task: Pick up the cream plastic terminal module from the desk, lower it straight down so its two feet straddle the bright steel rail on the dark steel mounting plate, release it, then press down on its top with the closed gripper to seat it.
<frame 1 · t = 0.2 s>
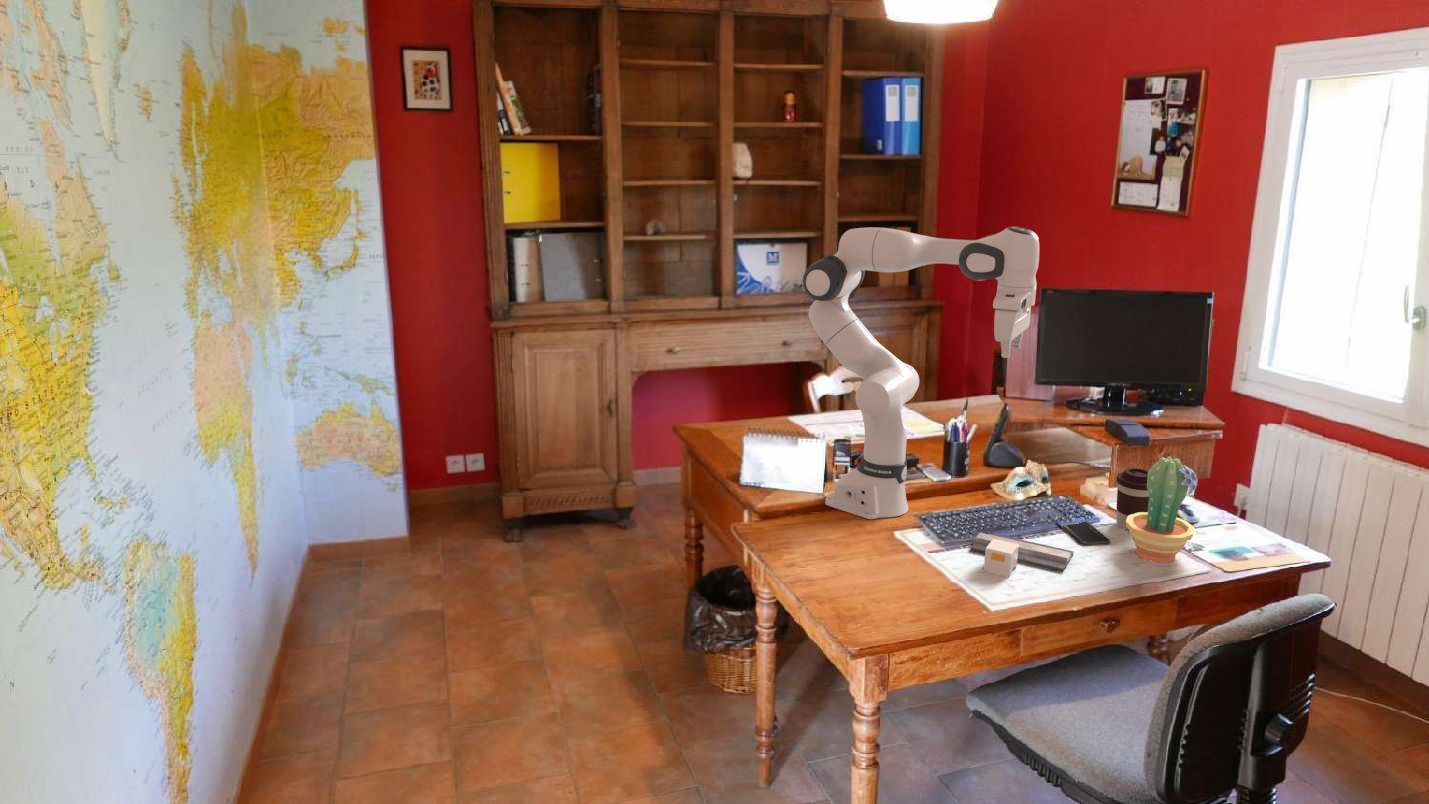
hand: (1010, 353, 235), 47 cm above the table, fingers open, 8 cm apart
phone: (1082, 534, 250), on the table
potted cactus: (1155, 555, 237), on the table
module: (1000, 569, 229), on the table
coffee cup: (1131, 526, 253), on the table
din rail: (1021, 553, 238), on the table
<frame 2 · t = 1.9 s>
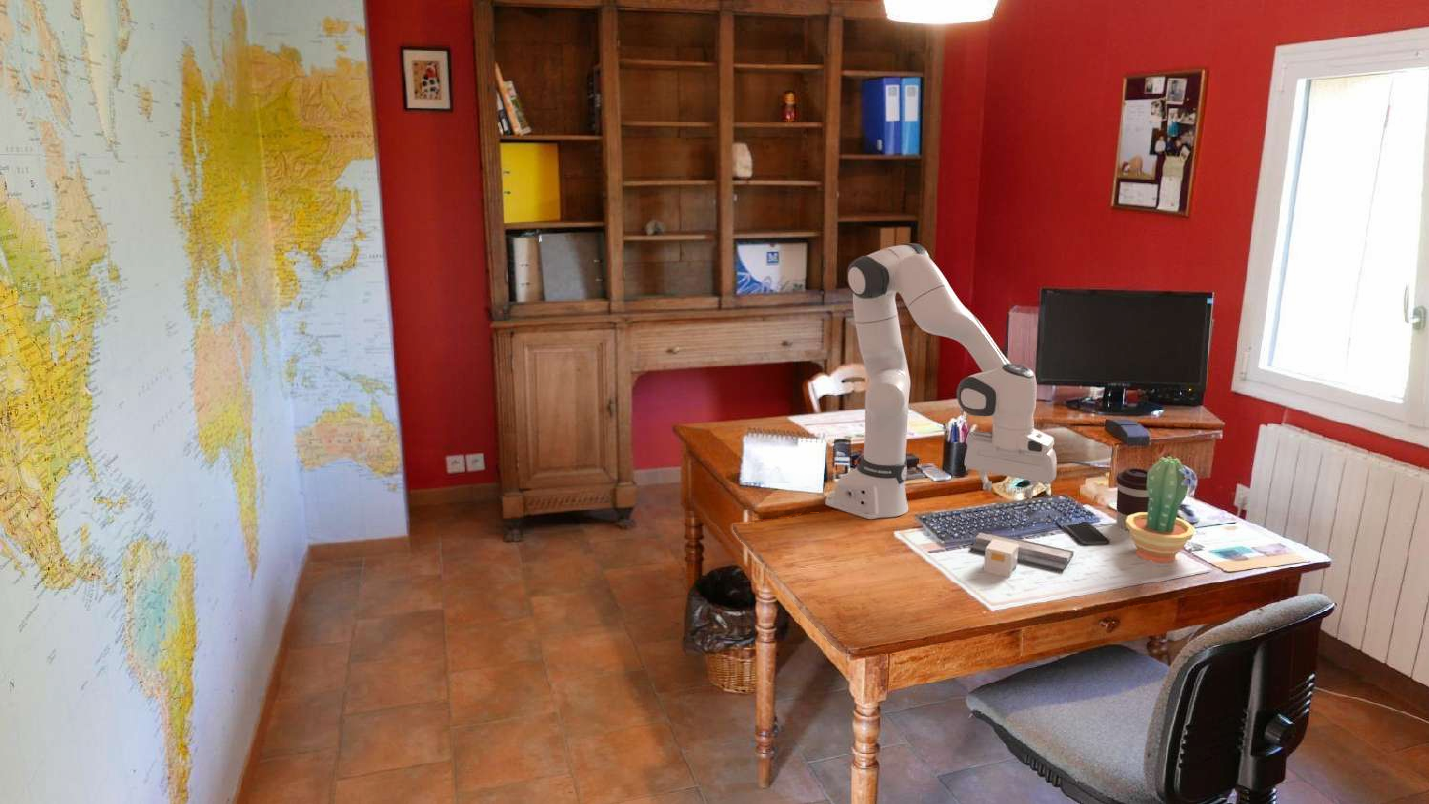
hand: (1007, 493, 224), 19 cm above the table, fingers open, 8 cm apart
nothing on the table moved.
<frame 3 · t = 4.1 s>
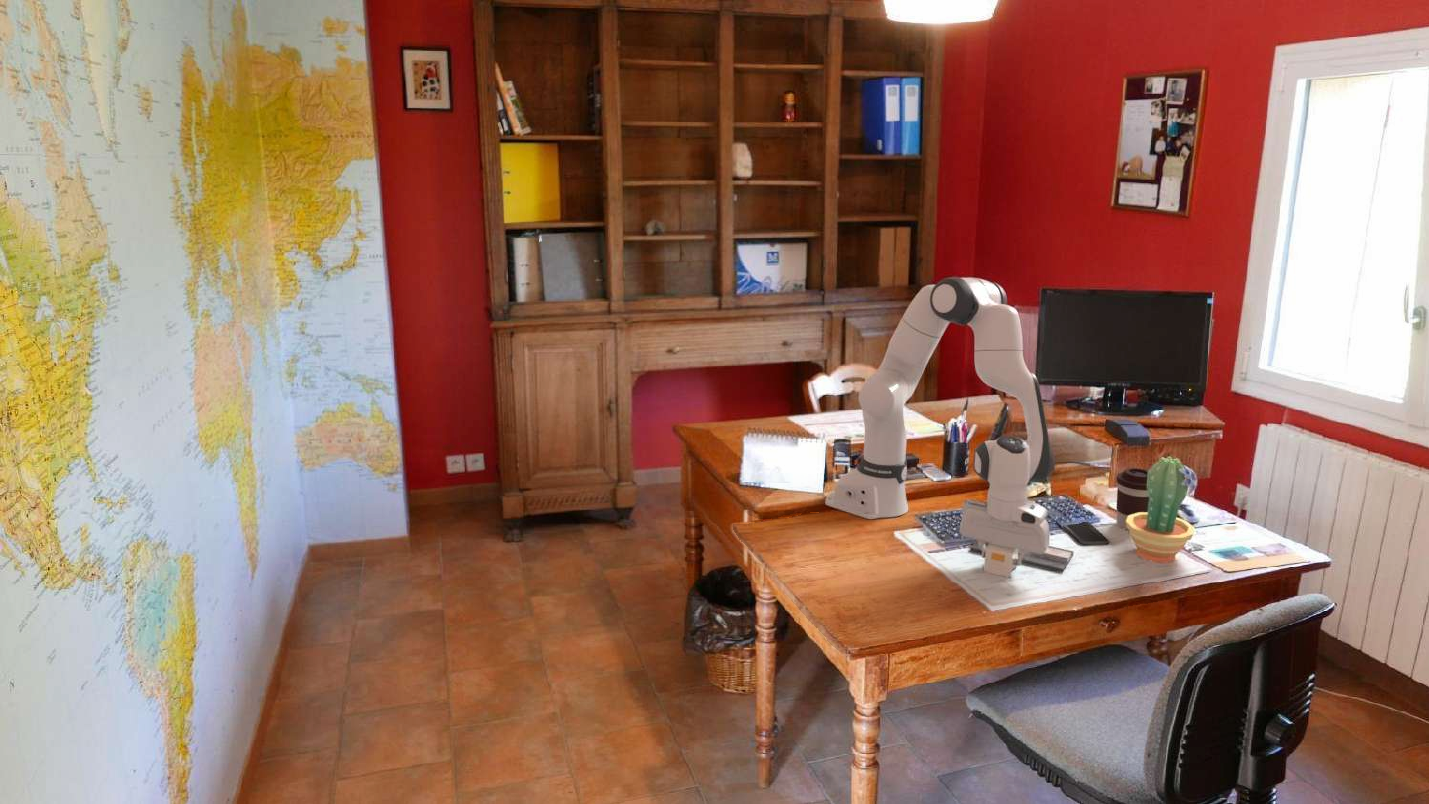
hand: (1001, 560, 229), 2 cm above the table, fingers closed on module, 6 cm apart
module: (1000, 569, 229), on the table, touching gripper
everything else where it was.
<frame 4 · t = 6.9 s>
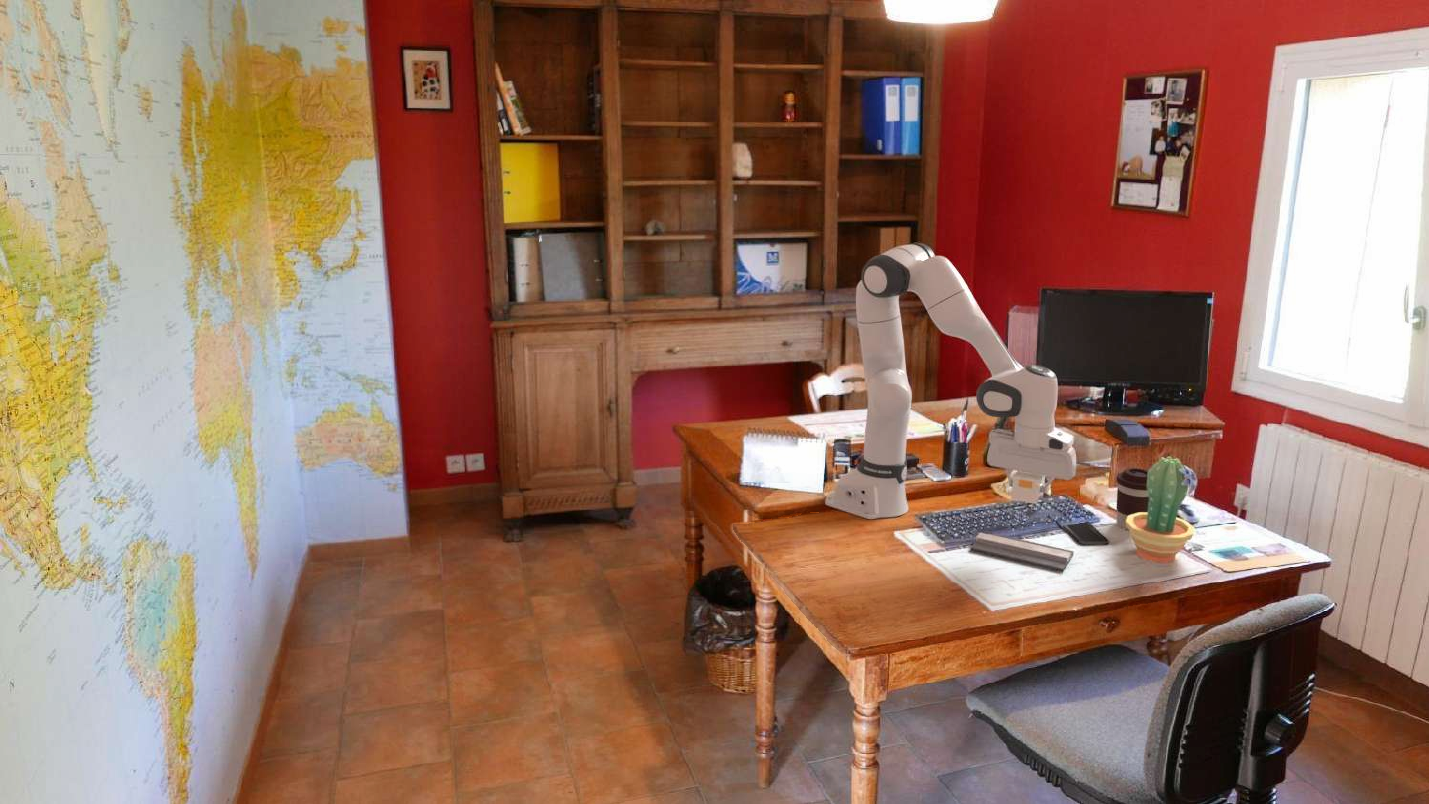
hand: (1028, 489, 233), 17 cm above the table, fingers closed on module, 6 cm apart
module: (1027, 497, 233), point 15 cm above the table, touching gripper
everything else where it was.
when the fingers open (4 cm above the table, at t = 10.2 s): module stays where it is, resting on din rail.
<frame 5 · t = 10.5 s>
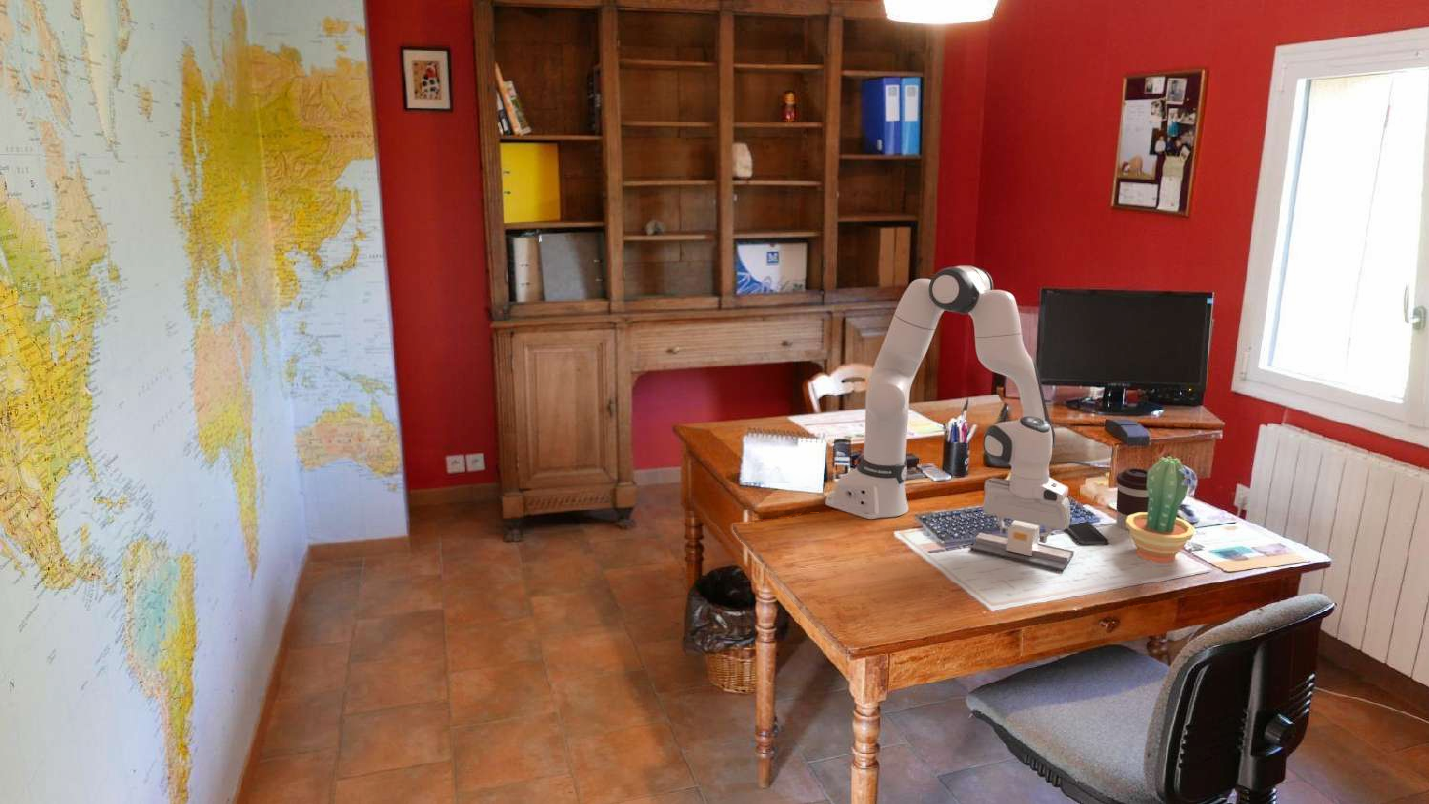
hand: (1023, 537, 237), 4 cm above the table, fingers open, 8 cm apart
module: (1021, 548, 237), point 1 cm above the table, touching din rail
everything else where it was.
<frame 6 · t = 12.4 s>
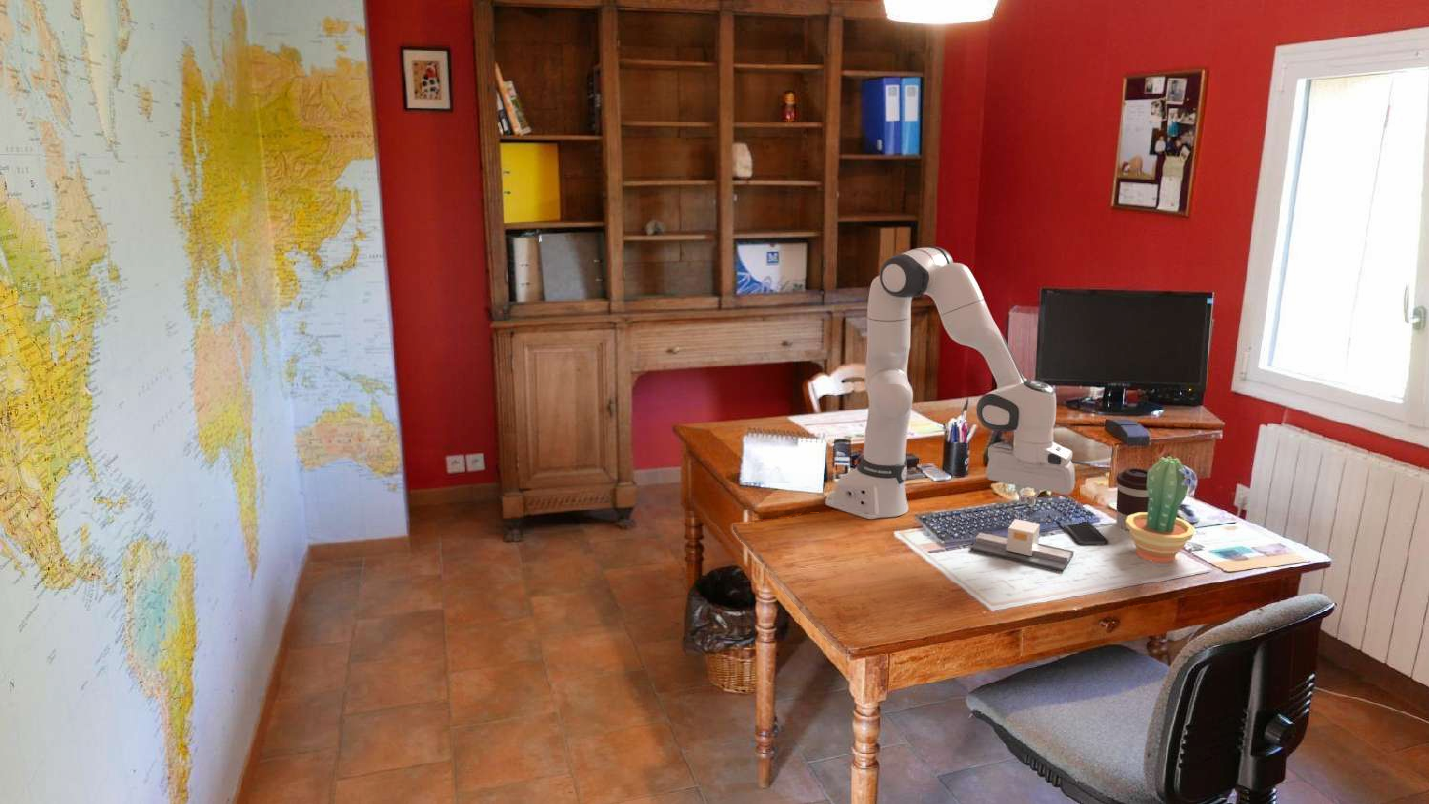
hand: (1026, 503, 234), 13 cm above the table, fingers closed
nothing on the table moved.
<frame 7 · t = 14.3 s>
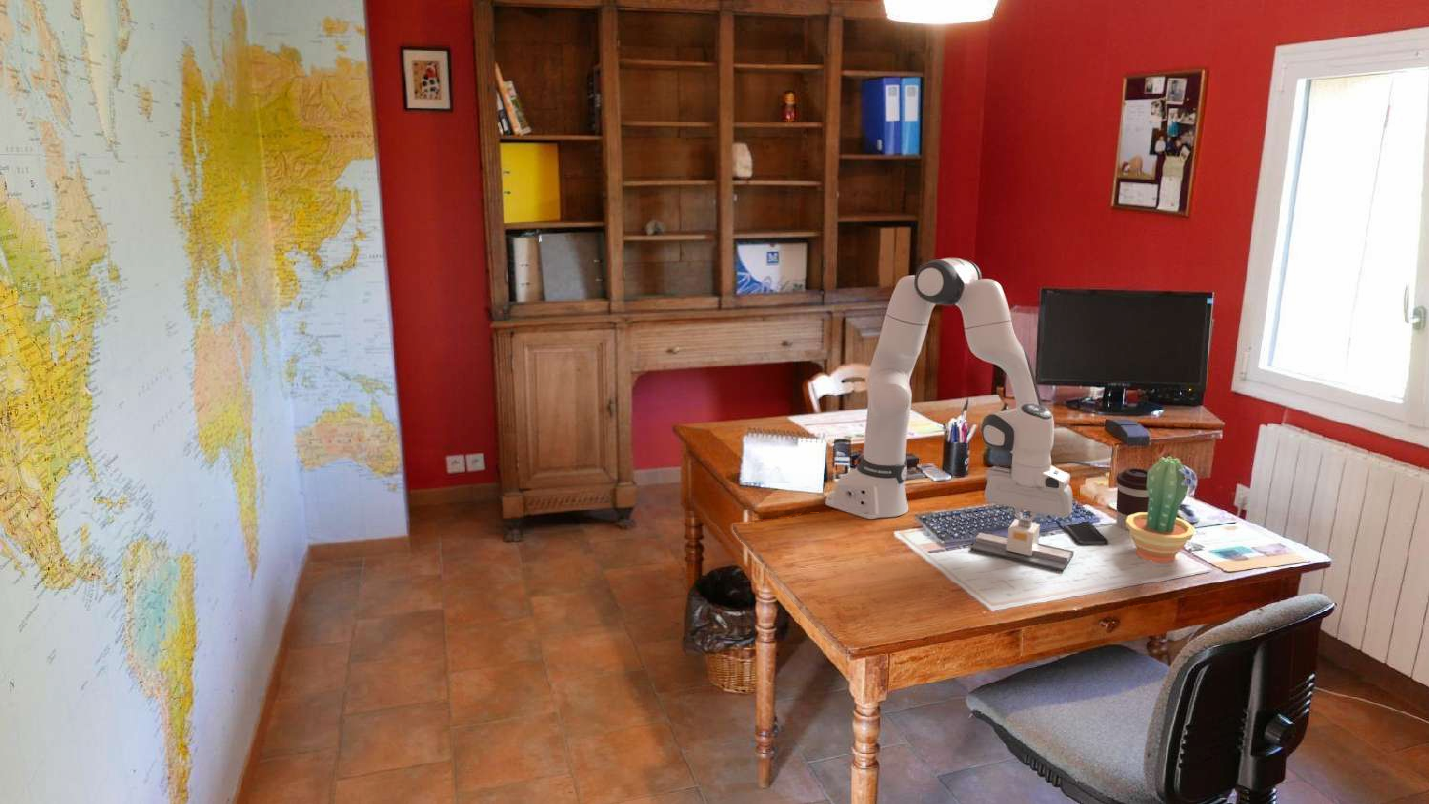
hand: (1025, 525, 236), 7 cm above the table, fingers closed, pressing on module
module: (1021, 548, 237), point 1 cm above the table, touching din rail, gripper
everything else where it was.
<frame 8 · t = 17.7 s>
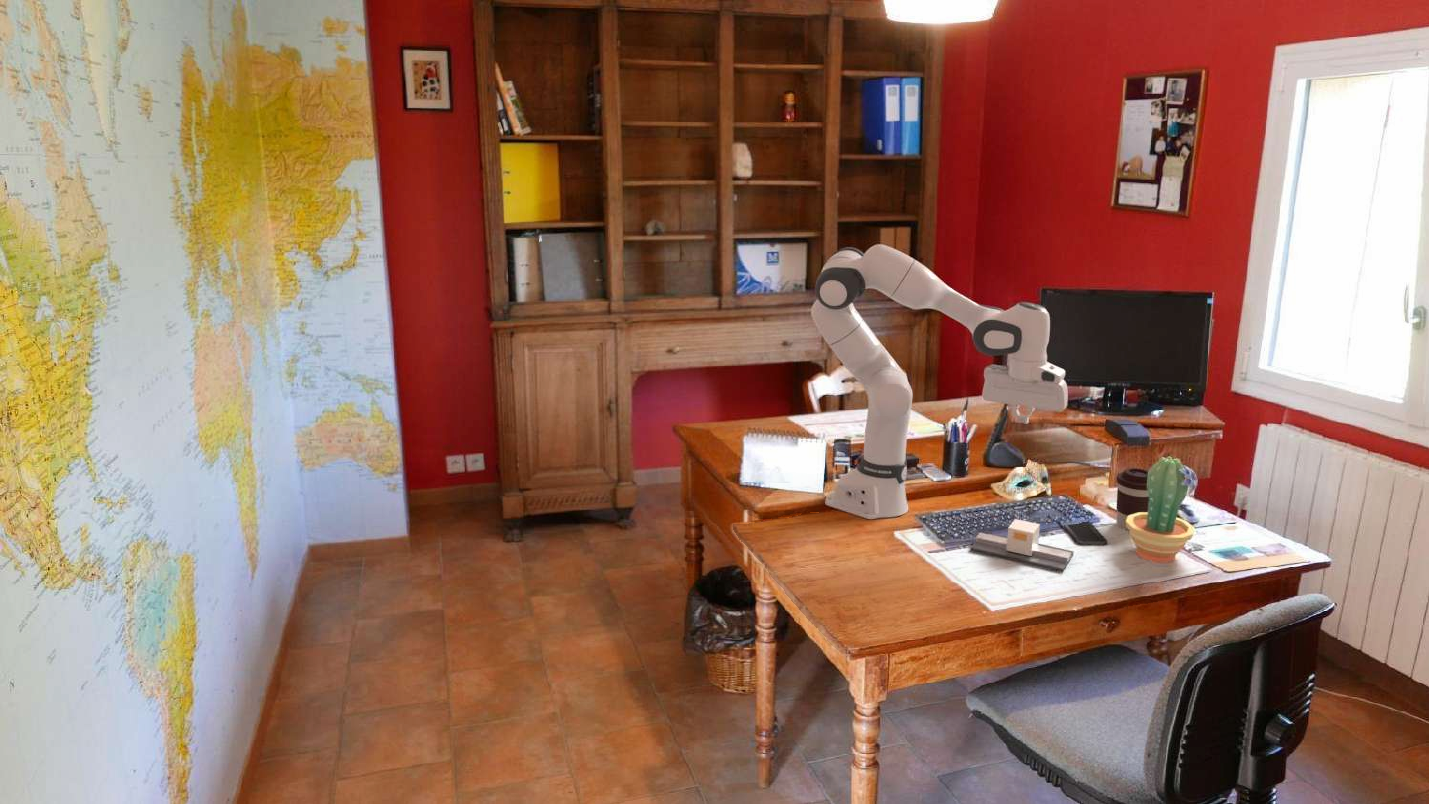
hand: (1021, 422, 242), 29 cm above the table, fingers closed
module: (1021, 548, 237), point 1 cm above the table, touching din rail
everything else where it was.
at the end: module 0.0 cm off-centre on the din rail, point 1.2 cm above the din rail's base; module tilted 0°; the gripper is holding nothing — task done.
